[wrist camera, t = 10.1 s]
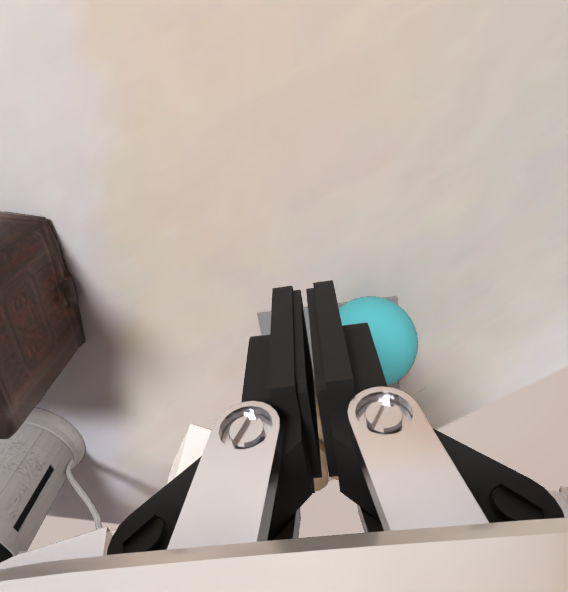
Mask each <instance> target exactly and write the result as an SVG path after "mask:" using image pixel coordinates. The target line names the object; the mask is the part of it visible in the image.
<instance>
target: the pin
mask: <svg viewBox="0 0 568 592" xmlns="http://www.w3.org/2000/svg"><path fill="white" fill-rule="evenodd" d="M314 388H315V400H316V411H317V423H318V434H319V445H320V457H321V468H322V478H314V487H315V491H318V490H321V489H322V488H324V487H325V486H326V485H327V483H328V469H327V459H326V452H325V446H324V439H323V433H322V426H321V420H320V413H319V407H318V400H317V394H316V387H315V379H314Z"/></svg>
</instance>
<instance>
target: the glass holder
mask: <svg viewBox="0 0 568 592" xmlns="http://www.w3.org/2000/svg"><path fill="white" fill-rule="evenodd" d="M84 454H85V444H84V440H83V438H82V437H81V435H80V433H79V432H78V431H77V430H76V428H75V427H73V426H72V425H71V424H70V423H69V422H67V421H66V420H65V419H63V418H61V417H60V416H58V415H56V414H54V413H51V412H49V411H46V410H43V409H39V408H34V409H33V411H32V412H31V413H30V415H29V416H28V417H27V419H26V420H25V421H24V423H23V424H22V425H21V427H20V428H19V429H18V431H17V432H16V433H15V434H14V435H13V436H11V437H10V438H9V439H0V563H1V562H3V561H5V560H7V559H9V558H11V557H13V556H16V555H19V554H22V553H25V552H27V550H28V548H29V546H30V544H31V543H32V541H33V539H34V537H35V535H36V533H37V532H38V529H39V528H40V526H41V524H42V522H43V520H44V519H45V517H46V515H47V513H48V511H49V509H50V507H51V506H52V504H53V502H54V500H55V498H56V496H57V494H58V493H59V491H60V489H61V487H62V485H63V483H64V481H65V480H66V478H67V477H68V479H69V481H70V483H71V485H72V486H73V488H74V489H75V490H76V492H77V493H78V495H79V496H80V497H81V498H82V499H83V501H84V502H85V504H86V505H87V507H88V509H89V510H90V512H91V514H92V516H93V519H94V521H95V525H96V530H98V529H101V528H102V524H101V517H100V515H99V513H98V511H97V510H96V508H95V506H94V505H93V503H92V502H91V500H90V499H89V497H88V495H87V494H86V493H85V491H84V490H83V489H82V488H81V486H80V485H79V483H78V482H77V481H76V479H75V478H74V476H73V474H72V473H71V470H72V468H74V467H75V466H76V465H77V464H79V463H80V462H81V460H82V458H83V457H84Z"/></svg>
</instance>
